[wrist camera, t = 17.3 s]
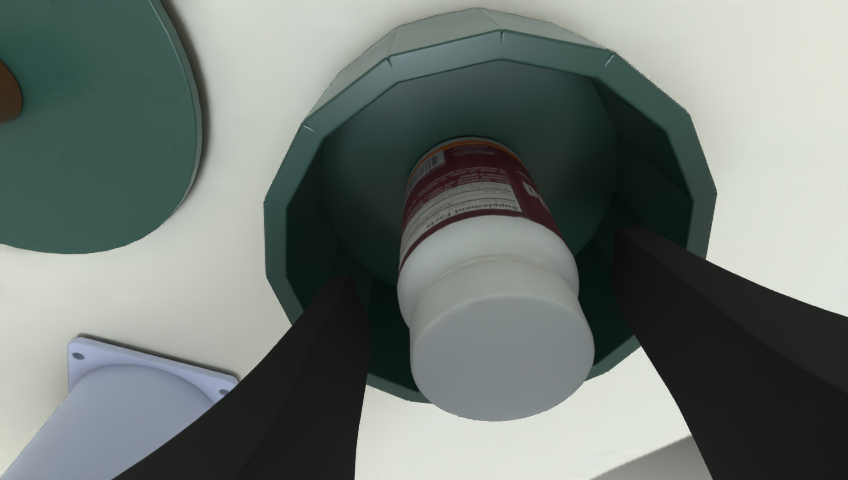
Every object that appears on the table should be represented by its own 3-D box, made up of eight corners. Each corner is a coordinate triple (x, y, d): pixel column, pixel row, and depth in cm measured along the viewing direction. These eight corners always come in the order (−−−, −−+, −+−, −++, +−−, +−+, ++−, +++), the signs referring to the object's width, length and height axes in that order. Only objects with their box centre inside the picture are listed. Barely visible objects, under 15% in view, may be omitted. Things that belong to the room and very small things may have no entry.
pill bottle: (536, 231, 17) (616, 416, 10) (422, 255, 18) (423, 445, 11) (522, 116, 15) (615, 258, 8) (389, 149, 15) (363, 308, 8)
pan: (622, 279, 19) (685, 379, 15) (362, 323, 21) (345, 427, 16) (635, -35, 13) (757, -33, 8) (254, 60, 14) (174, 106, 9)
